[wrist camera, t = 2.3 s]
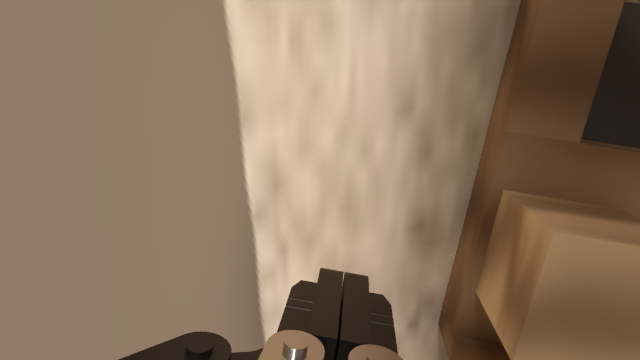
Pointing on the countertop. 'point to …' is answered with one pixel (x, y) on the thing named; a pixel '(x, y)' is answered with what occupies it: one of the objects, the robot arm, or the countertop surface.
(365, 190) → the countertop surface
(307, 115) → the countertop surface
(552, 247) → the maple block
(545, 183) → the box
